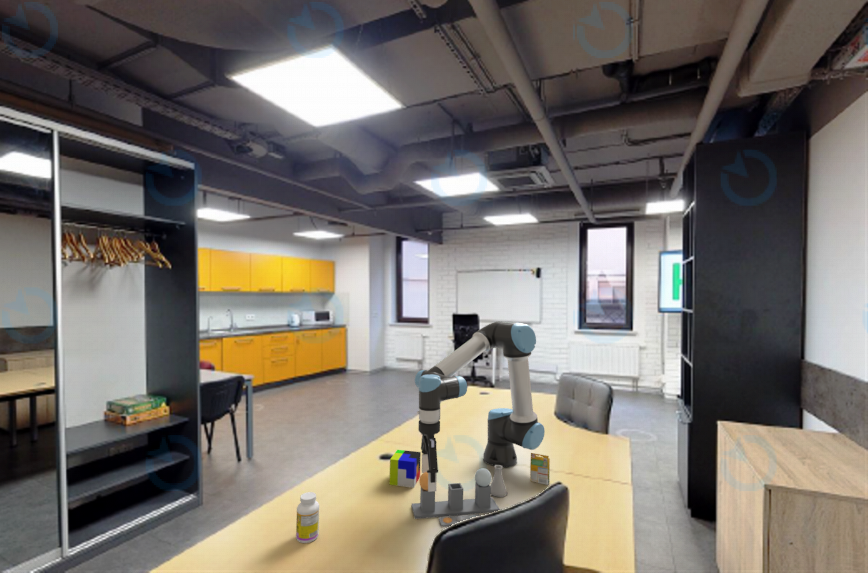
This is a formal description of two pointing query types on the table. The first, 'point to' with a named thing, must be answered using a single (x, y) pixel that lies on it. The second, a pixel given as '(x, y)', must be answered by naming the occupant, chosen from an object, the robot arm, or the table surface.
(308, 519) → the supplement bottle
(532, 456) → the crayon box
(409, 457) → the puzzle toy
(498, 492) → the flask
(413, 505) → the ball display stand
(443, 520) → the card
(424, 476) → the orange ball
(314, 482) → the table surface
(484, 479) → the light gray ball
